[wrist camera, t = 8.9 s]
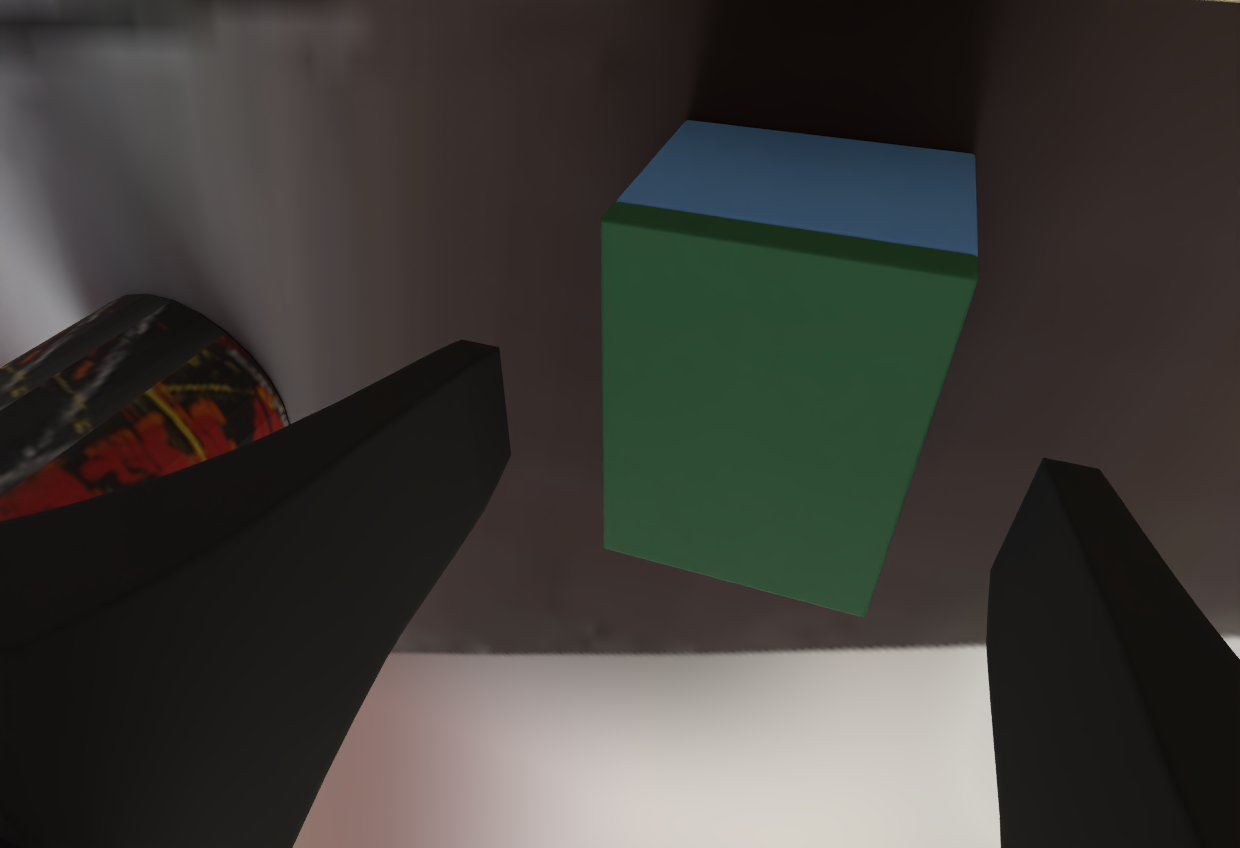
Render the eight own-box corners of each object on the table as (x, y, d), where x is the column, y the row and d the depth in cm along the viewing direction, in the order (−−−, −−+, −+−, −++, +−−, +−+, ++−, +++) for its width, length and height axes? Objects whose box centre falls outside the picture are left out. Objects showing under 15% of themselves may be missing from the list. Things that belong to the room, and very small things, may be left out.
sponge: (884, 459, 15) (865, 619, 12) (667, 412, 16) (601, 549, 13) (976, 152, 11) (980, 277, 8) (685, 118, 12) (598, 217, 10)
